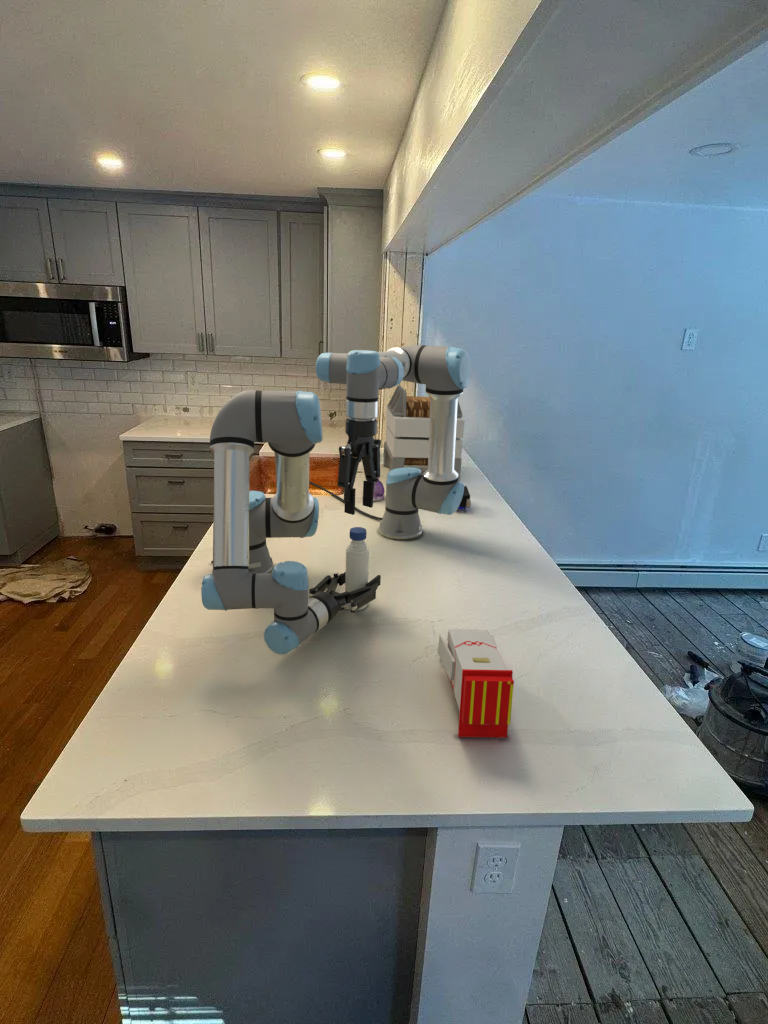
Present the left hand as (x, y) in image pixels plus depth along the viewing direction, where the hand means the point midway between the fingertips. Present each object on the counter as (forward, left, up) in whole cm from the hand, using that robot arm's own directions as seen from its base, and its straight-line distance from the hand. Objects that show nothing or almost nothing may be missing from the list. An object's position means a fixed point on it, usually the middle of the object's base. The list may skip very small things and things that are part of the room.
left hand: (366, 575), depth 153 cm
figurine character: (-6, +86, -7) cm, 86 cm away
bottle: (0, -5, -7) cm, 8 cm away
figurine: (-40, +75, -7) cm, 85 cm away
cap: (0, -5, +15) cm, 15 cm away
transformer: (-42, +122, -7) cm, 129 cm away
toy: (+39, -23, -7) cm, 46 cm away
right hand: (0, -5, +20) cm, 21 cm away
